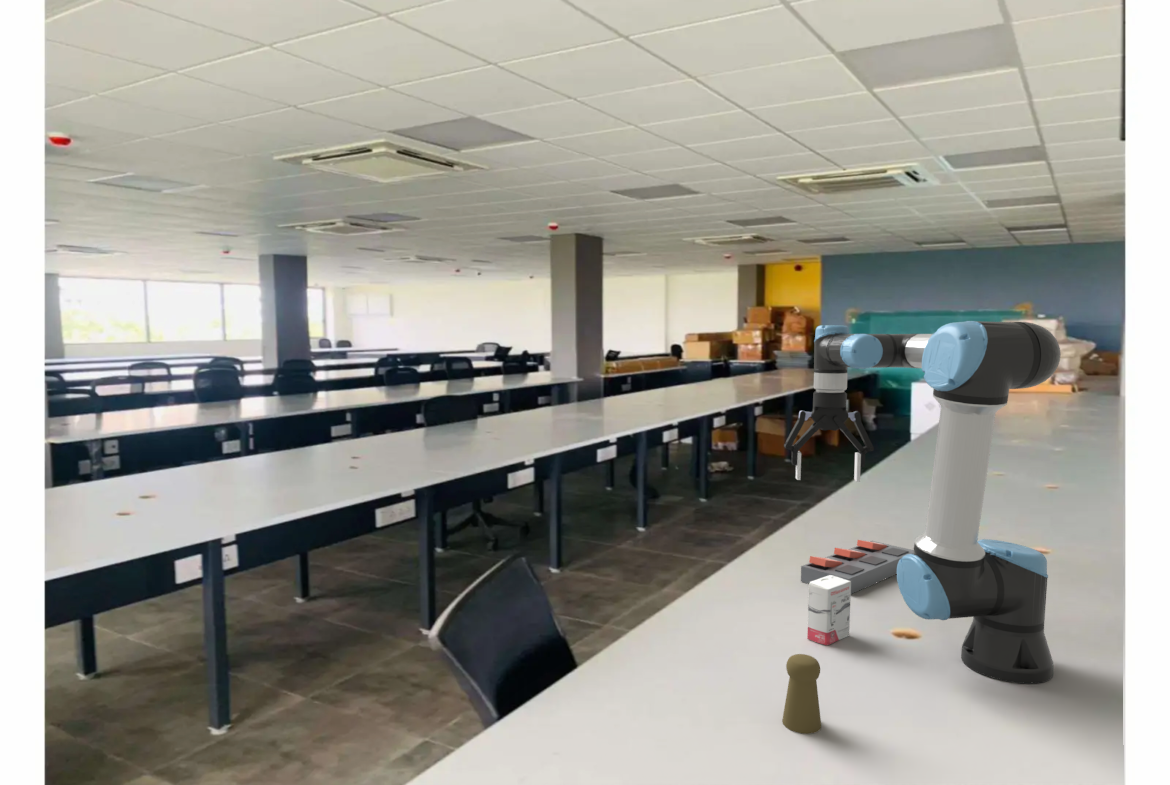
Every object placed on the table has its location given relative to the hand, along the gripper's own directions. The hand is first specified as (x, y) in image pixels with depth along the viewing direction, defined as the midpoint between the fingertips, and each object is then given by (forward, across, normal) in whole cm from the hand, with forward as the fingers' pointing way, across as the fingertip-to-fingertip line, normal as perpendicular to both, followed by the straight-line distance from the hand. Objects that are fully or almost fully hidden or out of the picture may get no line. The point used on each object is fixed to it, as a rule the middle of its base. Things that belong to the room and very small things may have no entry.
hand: (827, 479), depth 182 cm
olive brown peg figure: (+28, +15, +64) cm, 71 cm away
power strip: (+27, -15, -19) cm, 36 cm away
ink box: (+28, +4, +28) cm, 39 cm away
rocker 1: (+23, -2, -9) cm, 25 cm away
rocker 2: (+23, -10, -18) cm, 30 cm away
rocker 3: (+23, -17, -26) cm, 39 cm away
